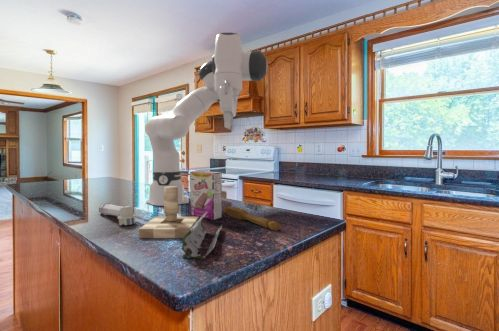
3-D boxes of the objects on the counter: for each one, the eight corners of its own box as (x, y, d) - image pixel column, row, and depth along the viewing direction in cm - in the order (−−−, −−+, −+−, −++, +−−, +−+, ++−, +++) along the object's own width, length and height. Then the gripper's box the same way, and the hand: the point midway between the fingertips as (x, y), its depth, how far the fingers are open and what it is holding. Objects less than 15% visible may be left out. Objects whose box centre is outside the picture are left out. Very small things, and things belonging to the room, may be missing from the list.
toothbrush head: (111, 202, 118) (137, 202, 100) (112, 219, 118) (139, 223, 100) (96, 204, 115) (121, 204, 96) (97, 222, 115) (122, 225, 96)
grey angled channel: (193, 271, 69) (208, 239, 94) (215, 250, 69) (224, 223, 94) (170, 248, 69) (191, 222, 94) (191, 227, 69) (207, 206, 94)
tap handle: (272, 222, 92) (222, 206, 117) (272, 232, 92) (222, 214, 117) (280, 221, 94) (229, 205, 118) (280, 231, 94) (229, 212, 119)
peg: (166, 227, 97) (166, 186, 96) (179, 227, 97) (179, 186, 96) (162, 230, 93) (161, 188, 92) (176, 231, 92) (175, 188, 92)
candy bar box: (189, 216, 111) (189, 171, 110) (199, 213, 116) (198, 170, 114) (213, 220, 105) (213, 173, 104) (222, 217, 109) (222, 172, 108)
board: (155, 224, 101) (155, 216, 100) (198, 224, 100) (198, 216, 100) (139, 237, 86) (138, 229, 85) (189, 238, 85) (189, 229, 85)
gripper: (236, 77, 87) (236, 126, 88) (239, 90, 107) (239, 130, 108) (214, 77, 87) (214, 126, 88) (221, 90, 107) (221, 130, 108)
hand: (228, 128), depth 98 cm, fingers open, 8 cm apart
